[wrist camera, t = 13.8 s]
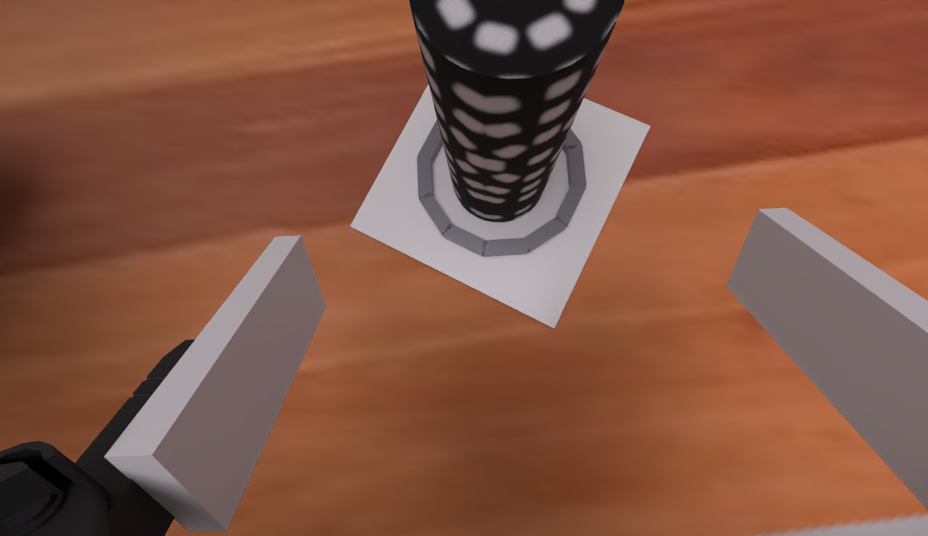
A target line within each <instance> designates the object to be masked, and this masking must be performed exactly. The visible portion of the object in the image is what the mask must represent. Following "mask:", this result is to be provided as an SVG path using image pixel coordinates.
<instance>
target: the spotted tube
mask: <svg viewBox="0 0 928 536" xmlns="http://www.w3.org/2000/svg"><path fill="white" fill-rule="evenodd" d="M409 1H410V6H411V11H412V16H413V20H414V24H415V28H416V32H417V37H418V41H419V45H420V49H421V54H422V58H423V62H424V66H425V70H426V75H427V79H428V83H429V87H430V91H431V96H432V100H433V104H434V108H435V112H436V117H437V121H438V125H439V129H440V133H441V138H442V142H443V146H444V150H445V155H446V159H447V163H448V167H449V171H450V176H451V180H452V184H453V188H454V192H455V194H456V197H457V199H458V200H459V202H460V203H461V205H462V206H463V207H464V208H465V209H466V210H467V211H468V212H469V213H471V214H472V215H474V216H475V217H477V218H479V219H482V220H485V221H489V222H508V221H513V220H515V219H518V218H520V217H522V216H524V215H525V214H527V213H528V212H530V211H531V210H532V209H533V208H534V207H535V206H536V204H537V203H538V201H539V200H540V198H541V196H542V194H543V191H544V189H545V187H546V184H547V182H548V180H549V177H550V175H551V173H552V170H553V168H554V166H555V163H556V161H557V159H558V156H559V154H560V152H561V149H562V147H563V145H564V143H565V140H566V138H567V136H568V133H569V131H570V129H571V126H572V124H573V122H574V119H575V117H576V115H577V112H578V110H579V108H580V105H581V103H582V101H583V98H584V96H585V94H586V91H587V89H588V87H589V84H590V82H591V80H592V77H593V75H594V73H595V70H596V68H597V66H598V63H599V61H600V59H601V56H602V54H603V52H604V49H605V47H606V45H607V42H608V40H609V38H610V35H611V33H612V31H613V28H614V26H615V24H616V21H617V19H618V16H619V14H620V12H621V9H622V7H623V4H624V0H409Z"/></svg>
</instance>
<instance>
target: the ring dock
mask: <svg viewBox="0 0 928 536" xmlns="http://www.w3.org/2000/svg"><path fill="white" fill-rule="evenodd" d="M649 128H650V126H649V125H646V124H644V123H642V122H639V121H637V120H635V119H632V118H630V117H627V116H625V115H623V114H620V113H618V112H616V111H613V110H611V109H608V108H606V107H604V106H601V105H599V104H597V103H594V102H592V101H589V100H587V99H585V98H583V101H582V103H581V105H580V108H579V110H578V112H577V115H576V117H575V119H574V122H573V124H572V126H571V129H570V131H569V133H568V136H567V138H566V140H565V143H564V145H563V147H562V149H561V152H560V154H559V156H558V159H557V161H556V163H555V166H554V168H553V170H552V173H551V175H550V177H549V180H548V182H547V184H546V187H545V189H544V191H543V194H542V196H541V198H540V200H539V201H538V203H537V204H536V206H535V207H534V208H533V209H532V210H531V211H530V212H528V213H527V214H525V215H524V216H522V217H520V218H518V219H515V220H513V221H508V222H489V221H485V220H482V219H479V218H477V217H475V216H474V215H472V214H471V213H469V212H468V211H467V210H466V209H465V208H464V207H463V206H462V205H461V203H460V202H459V200H458V199H457V197H456V194H455V192H454V188H453V184H452V180H451V176H450V171H449V167H448V163H447V159H446V155H445V150H444V146H443V142H442V138H441V133H440V129H439V125H438V121H437V117H436V112H435V108H434V104H433V100H432V96H431V91H430V87H429V84H428V86H427V88H426V90H425V92H424V93H423V95H422V97H421V99H420V101H419V102H418V104H417V106H416V108H415V110H414V111H413V113H412V115H411V117H410V119H409V121H408V122H407V124H406V126H405V128H404V130H403V131H402V133H401V135H400V137H399V139H398V140H397V142H396V144H395V146H394V148H393V150H392V151H391V153H390V155H389V157H388V159H387V160H386V162H385V164H384V166H383V168H382V169H381V171H380V173H379V175H378V177H377V178H376V180H375V182H374V184H373V186H372V188H371V189H370V191H369V193H368V195H367V197H366V198H365V200H364V202H363V204H362V206H361V207H360V209H359V211H358V213H357V215H356V216H355V218H354V220H353V222H352V224H351V226H350V227H352V228H353V229H355V230H357V231H359V232H361V233H363V234H365V235H367V236H369V237H371V238H373V239H375V240H377V241H379V242H381V243H383V244H385V245H387V246H389V247H391V248H393V249H395V250H397V251H399V252H401V253H403V254H405V255H407V256H409V257H411V258H413V259H415V260H417V261H419V262H421V263H423V264H425V265H427V266H429V267H431V268H433V269H435V270H437V271H439V272H441V273H443V274H445V275H447V276H449V277H451V278H453V279H455V280H457V281H459V282H461V283H463V284H465V285H467V286H469V287H471V288H473V289H475V290H477V291H479V292H481V293H483V294H485V295H487V296H489V297H491V298H493V299H495V300H497V301H499V302H501V303H503V304H505V305H507V306H509V307H511V308H512V309H514V310H516V311H518V312H520V313H522V314H524V315H526V316H528V317H530V318H532V319H534V320H536V321H538V322H540V323H542V324H544V325H546V326H548V327H550V328H553V329H554V328H555V326H556V324H557V322H558V320H559V318H560V316H561V313H562V311H563V309H564V307H565V305H566V303H567V301H568V299H569V297H570V295H571V292H572V290H573V288H574V286H575V284H576V282H577V280H578V278H579V276H580V273H581V271H582V269H583V267H584V265H585V263H586V261H587V259H588V257H589V255H590V252H591V250H592V248H593V246H594V244H595V242H596V240H597V238H598V236H599V233H600V231H601V229H602V227H603V225H604V223H605V221H606V219H607V217H608V214H609V212H610V210H611V208H612V206H613V204H614V202H615V200H616V198H617V196H618V193H619V191H620V189H621V187H622V185H623V183H624V181H625V179H626V177H627V174H628V172H629V170H630V168H631V166H632V164H633V162H634V160H635V158H636V155H637V153H638V151H639V149H640V147H641V145H642V143H643V141H644V139H645V137H646V134H647V132H648V130H649Z"/></svg>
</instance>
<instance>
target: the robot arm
mask: <svg viewBox="0 0 928 536" xmlns="http://www.w3.org/2000/svg"><path fill="white" fill-rule="evenodd" d="M726 287H727V288H728V289H729V290H730V291H731V292H732V293H733V294H734V296H735V297H736V298H737V299H738V300H739V301H740V302H741V303H742V304H743V306H744V307H745V308H746V309H747V310H748V311H749V312H750V313H751V314H752V316H753V317H754V318H755V319H756V320H757V321H758V322H759V323H760V324H761V326H762V327H763V328H764V329H765V330H766V331H767V332H768V333H769V334H770V336H771V337H772V338H773V339H774V340H775V341H776V342H777V343H778V344H779V346H780V347H781V348H782V349H783V350H784V351H785V352H786V353H787V354H788V356H789V357H790V358H791V359H792V360H793V361H794V362H795V363H796V364H797V365H798V367H799V368H800V369H801V370H802V371H803V372H804V373H805V374H806V375H807V377H808V378H809V379H810V380H811V381H812V382H813V383H814V384H815V385H816V387H817V388H818V389H819V390H820V391H821V392H822V393H823V394H824V395H825V397H826V398H827V399H828V400H829V401H830V402H831V403H832V404H833V405H834V407H835V408H836V409H837V410H838V411H839V412H840V413H841V414H842V415H843V417H844V418H845V419H846V420H847V421H848V422H849V423H850V424H851V425H852V427H853V428H854V429H855V430H856V431H857V432H858V433H859V434H860V435H861V437H862V438H863V439H864V440H865V441H866V442H867V443H868V444H869V445H870V447H871V448H872V449H873V450H874V451H875V452H876V453H877V454H878V455H879V457H880V458H881V459H882V460H883V461H884V462H885V463H886V464H887V465H888V467H889V468H890V469H891V470H892V471H893V472H894V473H895V474H896V475H897V477H898V478H899V479H900V480H901V481H902V482H903V483H904V484H905V485H906V487H907V488H908V489H909V490H910V491H911V492H912V493H913V494H914V495H915V497H916V498H917V499H918V500H919V501H920V502H921V503H922V504H923V505H924V507H925V508H926V509H927V510H928V301H927V300H925V299H924V298H922V297H921V296H919V295H918V294H916V293H915V292H913V291H912V290H910V289H909V288H907V287H906V286H904V285H903V284H901V283H900V282H898V281H897V280H895V279H893V278H892V277H890V276H889V275H887V274H886V273H884V272H883V271H881V270H880V269H878V268H877V267H875V266H874V265H872V264H871V263H869V262H868V261H866V260H865V259H863V258H862V257H860V256H859V255H857V254H856V253H854V252H853V251H851V250H850V249H848V248H847V247H845V246H843V245H842V244H840V243H839V242H837V241H836V240H834V239H833V238H831V237H830V236H828V235H827V234H825V233H824V232H822V231H821V230H819V229H818V228H816V227H815V226H813V225H812V224H810V223H809V222H807V221H806V220H804V219H803V218H801V217H800V216H798V215H797V214H795V213H793V212H792V211H790V210H789V209H787V208H773V209H758V211H757V214H756V216H755V219H754V221H753V223H752V226H751V228H750V231H749V233H748V235H747V238H746V240H745V243H744V245H743V247H742V250H741V252H740V255H739V257H738V259H737V262H736V264H735V266H734V269H733V271H732V274H731V276H730V278H729V281H728V283H727V286H726ZM325 308H326V304H325V301H324V299H323V296H322V293H321V290H320V288H319V285H318V282H317V279H316V276H315V274H314V271H313V268H312V265H311V262H310V260H309V257H308V254H307V251H306V248H305V246H304V243H303V240H302V237H301V235H299V236H282V237H275V238H274V239H273V241H272V242H271V243H270V244H269V246H268V247H267V248H266V250H265V251H264V252H263V253H262V255H261V256H260V257H259V258H258V260H257V261H256V262H255V264H254V265H253V266H252V267H251V269H250V270H249V271H248V273H247V274H246V275H245V276H244V278H243V279H242V280H241V282H240V283H239V284H238V285H237V287H236V288H235V289H234V291H233V292H232V293H231V294H230V296H229V297H228V298H227V300H226V301H225V302H224V303H223V305H222V306H221V307H220V309H219V310H218V311H217V312H216V314H215V315H214V316H213V318H212V319H211V320H210V321H209V323H208V324H207V325H206V326H205V328H204V329H203V330H202V332H201V333H200V334H199V335H198V337H197V338H196V339H195V340H185V341H184V342H182V343H181V344H180V345H178V346H177V347H176V348H175V349H173V350H172V351H171V352H169V353H168V354H167V355H165V356H164V357H163V358H162V359H161V360H160V362H159V363H158V364H157V365H156V366H155V368H154V369H153V370H152V371H151V372H150V374H149V375H148V376H147V380H146V381H143V382H142V383H141V385H140V386H139V387H138V388H137V389H136V391H135V392H134V393H133V397H132V398H129V399H128V400H127V401H126V403H125V404H124V405H123V406H122V407H121V409H120V410H119V411H118V412H117V413H116V415H115V416H114V417H113V418H112V419H111V421H110V422H109V423H108V424H107V425H106V427H105V428H104V429H103V430H102V431H101V433H100V434H99V435H98V436H97V438H96V439H95V440H94V441H93V442H92V444H91V445H90V446H89V447H88V448H87V450H86V451H85V452H84V453H83V454H82V456H81V457H80V458H79V459H78V460H77V462H76V463H75V464H74V463H73V462H72V461H71V460H69V459H68V458H67V457H66V456H64V455H63V454H62V453H61V452H59V451H58V450H57V449H56V448H55V447H53V446H52V445H50V444H47V443H44V442H41V441H36V442H28V443H22V444H19V445H17V446H14V447H11V448H9V449H6V450H4V451H1V452H0V536H165V534H166V532H167V530H168V528H169V527H170V525H171V523H172V521H173V519H175V520H176V521H177V522H179V523H180V524H181V525H182V526H183V527H184V528H185V529H187V530H188V531H189V532H193V531H227V530H228V527H229V525H230V523H231V520H232V518H233V516H234V514H235V511H236V509H237V507H238V505H239V502H240V500H241V498H242V496H243V493H244V491H245V489H246V487H247V484H248V482H249V480H250V477H251V475H252V473H253V471H254V468H255V466H256V464H257V462H258V459H259V457H260V455H261V453H262V450H263V448H264V446H265V444H266V441H267V439H268V437H269V435H270V432H271V430H272V428H273V425H274V423H275V421H276V419H277V416H278V414H279V412H280V410H281V407H282V405H283V403H284V401H285V398H286V396H287V394H288V392H289V389H290V387H291V385H292V383H293V380H294V378H295V376H296V373H297V371H298V369H299V367H300V364H301V362H302V360H303V358H304V355H305V353H306V351H307V349H308V346H309V344H310V342H311V340H312V337H313V335H314V333H315V331H316V328H317V326H318V324H319V321H320V319H321V317H322V315H323V312H324V310H325Z"/></svg>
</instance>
